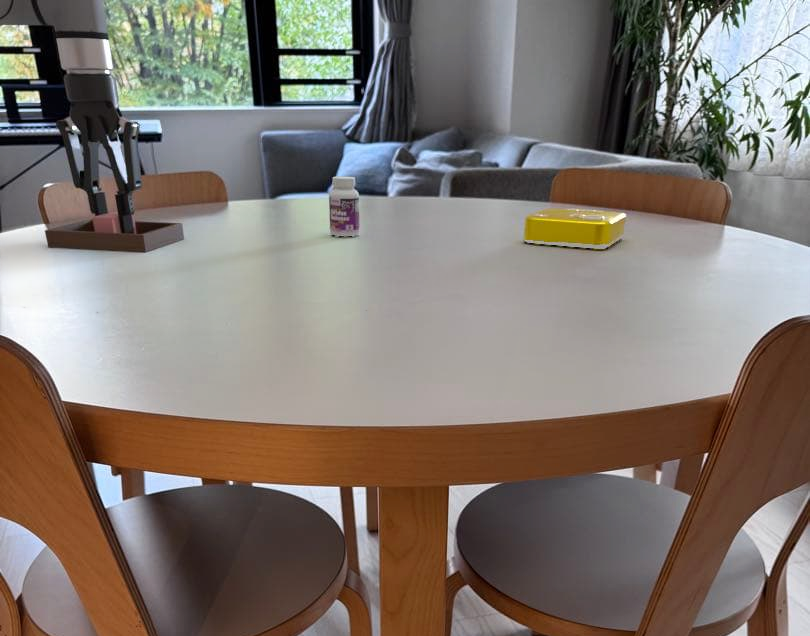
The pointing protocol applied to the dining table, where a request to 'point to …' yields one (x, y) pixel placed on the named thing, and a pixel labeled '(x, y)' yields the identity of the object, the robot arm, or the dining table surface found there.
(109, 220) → the eraser
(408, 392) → the dining table surface
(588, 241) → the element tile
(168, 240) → the tray
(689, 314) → the dining table surface
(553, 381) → the dining table surface
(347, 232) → the pill bottle
